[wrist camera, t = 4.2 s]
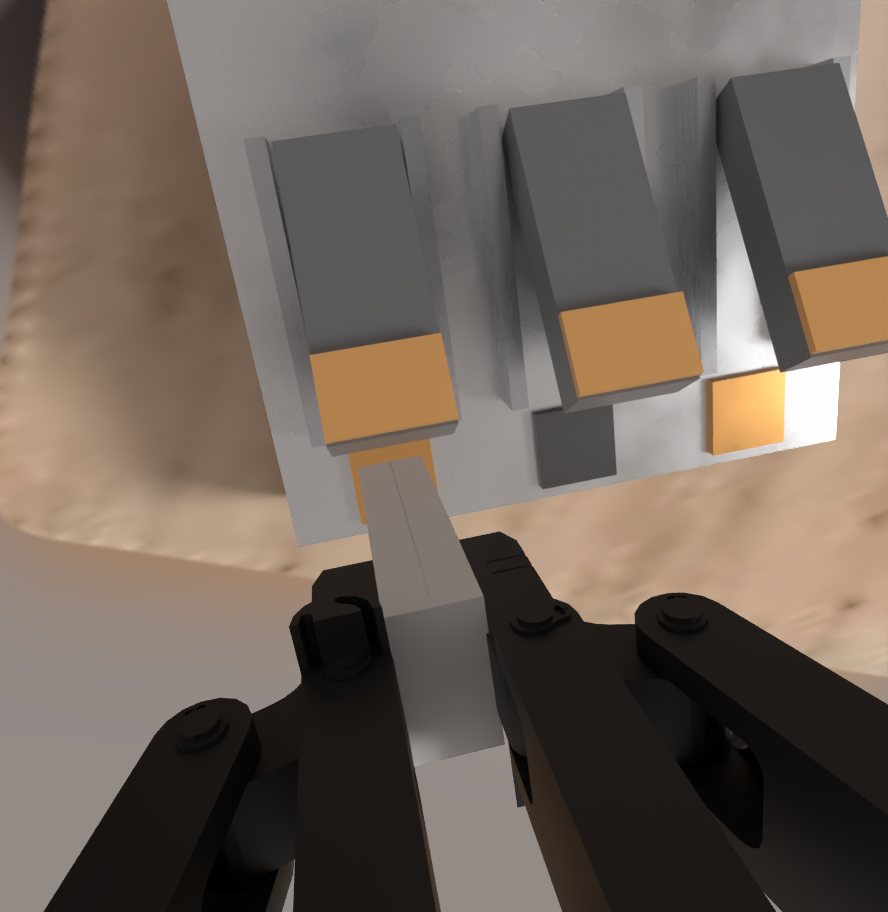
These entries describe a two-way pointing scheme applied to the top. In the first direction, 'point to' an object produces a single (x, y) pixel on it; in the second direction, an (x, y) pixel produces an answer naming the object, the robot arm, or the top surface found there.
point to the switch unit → (505, 222)
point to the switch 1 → (364, 290)
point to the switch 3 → (807, 213)
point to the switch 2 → (597, 253)
